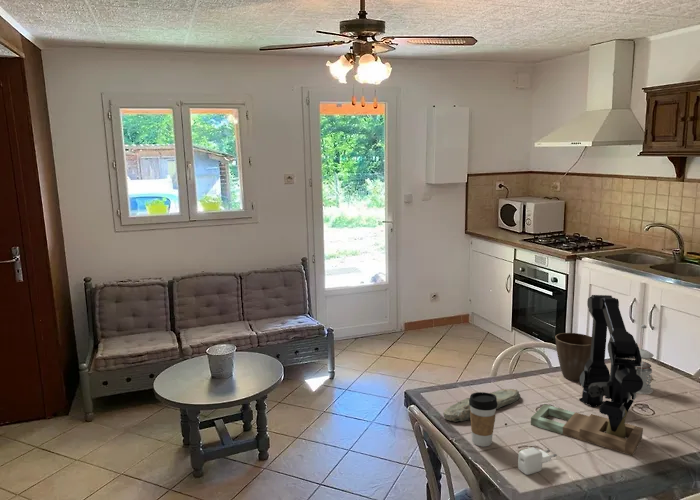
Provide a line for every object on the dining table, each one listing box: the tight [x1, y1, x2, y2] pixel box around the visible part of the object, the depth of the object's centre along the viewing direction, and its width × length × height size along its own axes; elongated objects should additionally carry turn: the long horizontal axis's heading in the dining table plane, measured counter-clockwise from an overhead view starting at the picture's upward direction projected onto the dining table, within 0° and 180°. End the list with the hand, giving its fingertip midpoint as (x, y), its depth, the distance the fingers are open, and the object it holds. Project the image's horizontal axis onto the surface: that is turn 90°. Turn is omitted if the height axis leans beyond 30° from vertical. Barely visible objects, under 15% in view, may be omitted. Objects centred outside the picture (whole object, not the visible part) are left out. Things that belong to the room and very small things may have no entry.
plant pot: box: [555, 332, 592, 382], centre depth 215 cm, size 15×15×16 cm
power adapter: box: [517, 446, 557, 476], centre depth 154 cm, size 11×5×6 cm, turn 114°
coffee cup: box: [469, 391, 497, 447], centre depth 167 cm, size 8×8×15 cm
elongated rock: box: [443, 388, 521, 423], centre depth 191 cm, size 35×5×10 cm
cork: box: [605, 409, 628, 439], centre depth 167 cm, size 6×6×11 cm
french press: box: [635, 324, 654, 395], centre depth 202 cm, size 10×12×25 cm
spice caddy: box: [530, 403, 644, 456], centre depth 174 cm, size 30×12×4 cm, turn 51°
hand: (616, 426), depth 168 cm, fingers open, 7 cm apart
